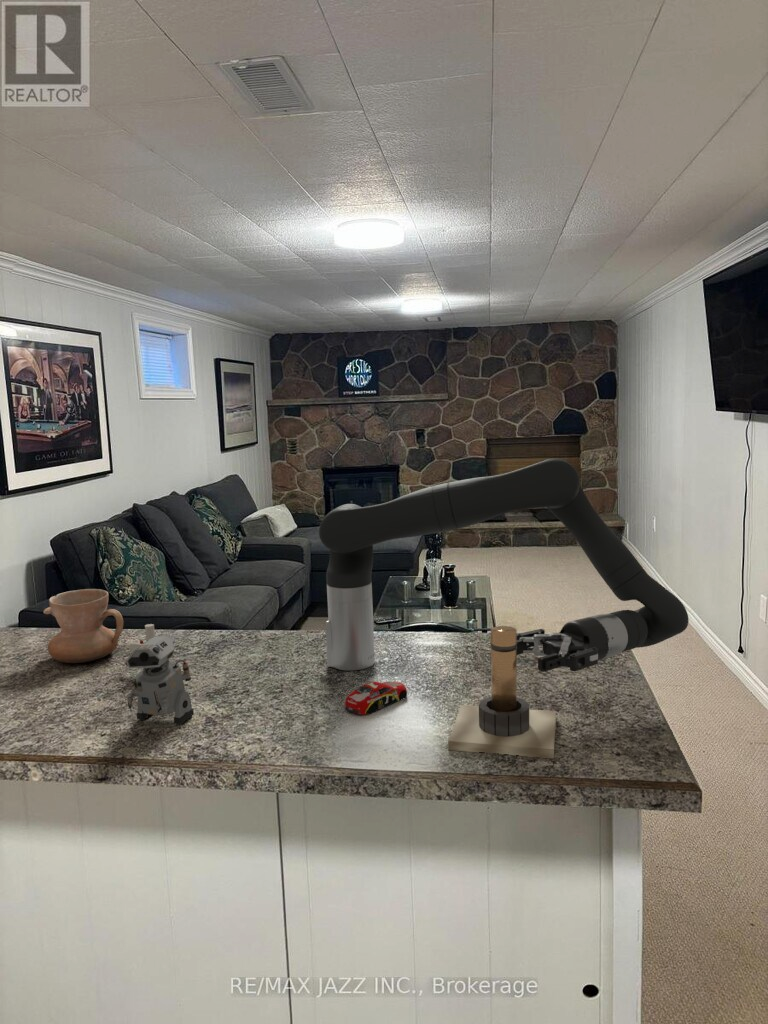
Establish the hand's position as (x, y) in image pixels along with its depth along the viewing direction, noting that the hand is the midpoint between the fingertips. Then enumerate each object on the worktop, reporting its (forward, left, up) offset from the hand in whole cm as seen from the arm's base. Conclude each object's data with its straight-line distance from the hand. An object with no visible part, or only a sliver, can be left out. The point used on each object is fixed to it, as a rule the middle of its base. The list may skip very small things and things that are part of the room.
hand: (521, 657), depth 122 cm
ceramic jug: (-97, +21, -12) cm, 100 cm away
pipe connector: (-77, +15, -12) cm, 79 cm away
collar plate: (-3, -3, -12) cm, 13 cm away
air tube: (-3, -2, -11) cm, 11 cm away
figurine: (-62, -8, -12) cm, 63 cm away
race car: (-26, +6, -13) cm, 30 cm away
